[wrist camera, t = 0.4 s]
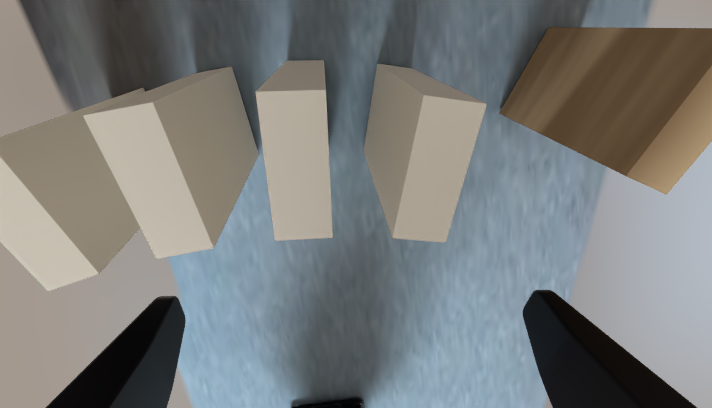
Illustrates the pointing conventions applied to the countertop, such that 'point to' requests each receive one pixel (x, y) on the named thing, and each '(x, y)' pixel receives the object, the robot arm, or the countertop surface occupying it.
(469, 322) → the countertop surface
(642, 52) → the domino
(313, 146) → the domino
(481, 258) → the countertop surface
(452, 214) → the domino
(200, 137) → the domino
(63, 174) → the domino
